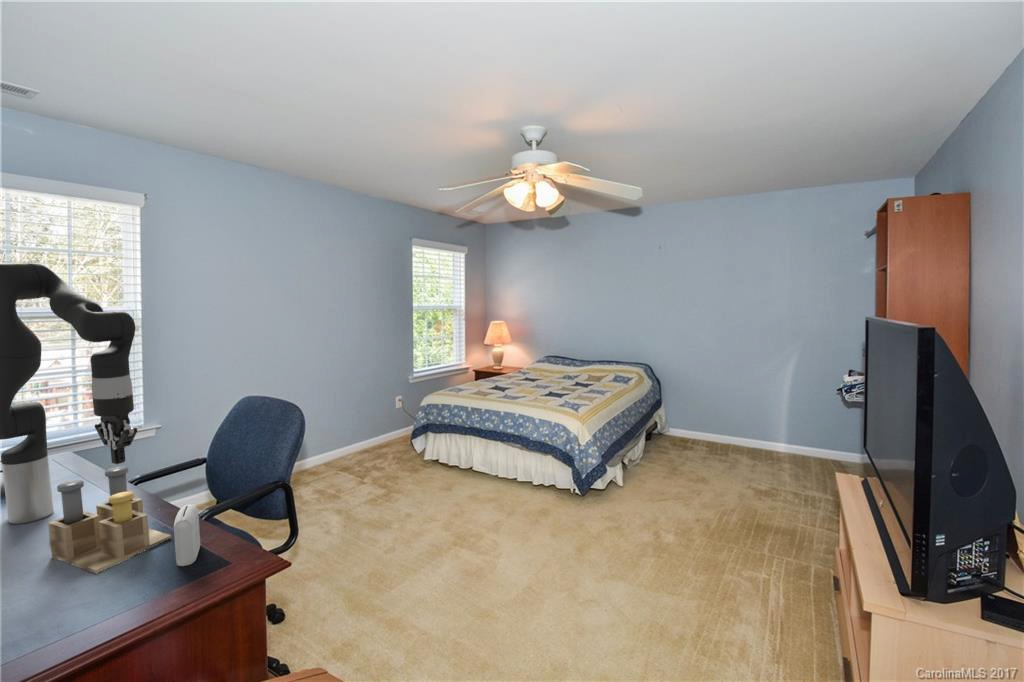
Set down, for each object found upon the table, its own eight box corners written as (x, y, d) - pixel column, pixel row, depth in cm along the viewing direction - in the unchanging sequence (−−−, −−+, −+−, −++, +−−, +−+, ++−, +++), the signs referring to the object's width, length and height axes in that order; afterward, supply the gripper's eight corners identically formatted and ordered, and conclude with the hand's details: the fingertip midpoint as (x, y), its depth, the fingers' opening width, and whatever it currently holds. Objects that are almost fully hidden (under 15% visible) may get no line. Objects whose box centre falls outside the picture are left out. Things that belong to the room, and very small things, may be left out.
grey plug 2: (103, 507, 127) (100, 471, 125) (124, 500, 131) (121, 465, 130) (115, 511, 125) (111, 474, 124) (135, 503, 129) (132, 467, 128)
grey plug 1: (56, 525, 117) (52, 486, 116) (80, 516, 122) (76, 478, 121) (68, 529, 116) (64, 489, 114) (91, 520, 120) (87, 482, 119)
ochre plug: (107, 536, 118) (104, 497, 117) (129, 527, 123) (125, 490, 122) (119, 540, 117) (116, 501, 116) (141, 531, 121) (137, 493, 120)
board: (51, 557, 118) (48, 522, 117) (128, 525, 133) (125, 494, 132) (96, 574, 111) (92, 537, 110) (171, 538, 127) (168, 506, 126)
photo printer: (182, 547, 123) (179, 501, 121) (202, 543, 125) (199, 498, 123) (174, 568, 114) (170, 519, 112) (195, 564, 115) (192, 516, 114)
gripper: (77, 394, 114) (84, 463, 117) (112, 400, 110) (118, 472, 112) (113, 388, 121) (119, 453, 123) (147, 393, 117) (152, 461, 119)
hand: (118, 462), depth 118 cm, fingers closed
